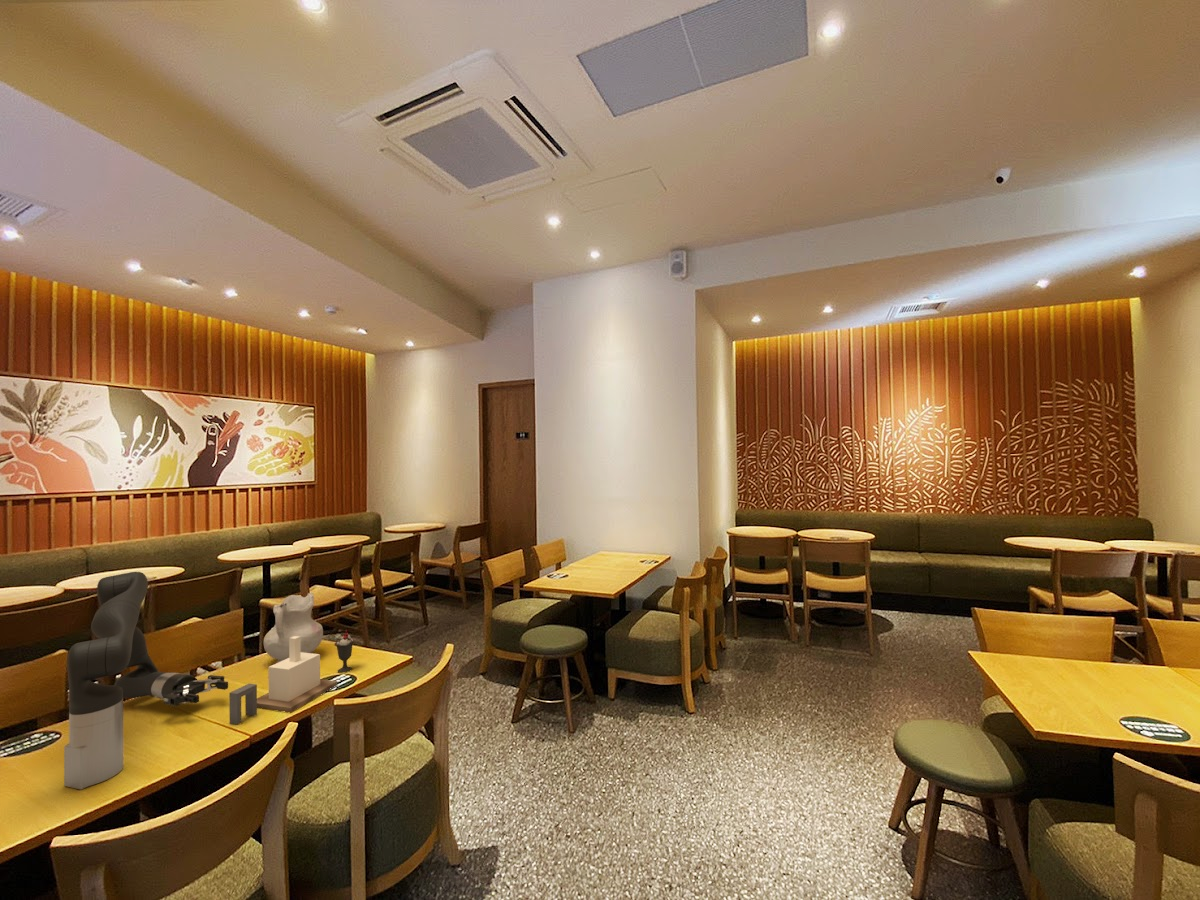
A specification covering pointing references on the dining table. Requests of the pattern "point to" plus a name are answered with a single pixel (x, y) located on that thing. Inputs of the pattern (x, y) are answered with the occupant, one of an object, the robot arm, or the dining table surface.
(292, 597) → the ceramic pitcher
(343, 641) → the sundae
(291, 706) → the display base
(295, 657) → the white block with post
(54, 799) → the dining table surface
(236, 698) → the gray u-shaped archway
